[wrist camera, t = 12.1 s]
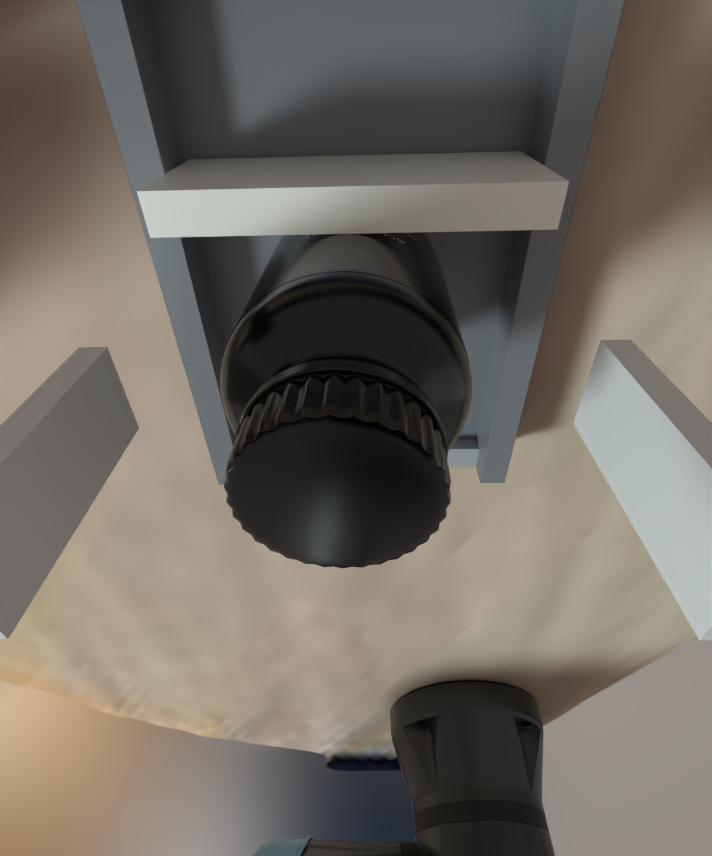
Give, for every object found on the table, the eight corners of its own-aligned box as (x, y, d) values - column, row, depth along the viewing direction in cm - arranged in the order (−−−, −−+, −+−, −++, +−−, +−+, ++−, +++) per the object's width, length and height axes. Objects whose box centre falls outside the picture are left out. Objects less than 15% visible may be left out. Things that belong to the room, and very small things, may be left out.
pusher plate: (514, 189, 17) (557, 229, 13) (197, 197, 17) (150, 237, 13) (520, 150, 16) (569, 181, 12) (189, 159, 16) (136, 191, 12)
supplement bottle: (382, 149, 16) (408, 283, 7) (466, 306, 20) (558, 538, 10) (233, 257, 18) (99, 467, 9) (332, 380, 22) (308, 622, 13)
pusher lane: (497, 443, 26) (520, 513, 22) (226, 445, 26) (202, 514, 22) (615, -96, 13) (721, -160, 9) (90, -76, 13) (-22, -128, 10)
